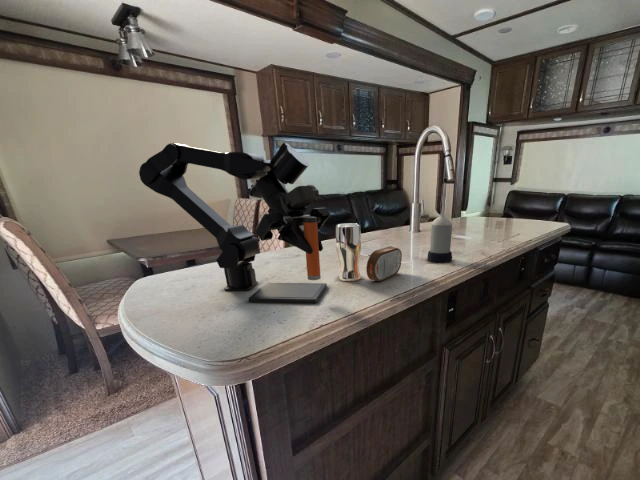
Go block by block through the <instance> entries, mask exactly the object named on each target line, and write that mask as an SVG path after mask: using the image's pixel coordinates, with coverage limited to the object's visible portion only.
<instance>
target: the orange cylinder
mask: <svg viewBox="0 0 640 480" xmlns="http://www.w3.org/2000/svg"><path fill="white" fill-rule="evenodd" d="M303 219H304V222H303V225H304V237H305V238H306V240H307V241H308V243H309V244H310V246H311V248H312V250H313V252H312V254H309V253H307V252H305V261H306V262H305V263H306V274H307V275H306V276H307V280H308V281H319V280H321V276H322V275H321V263H320V261H321V260H320V251H319V244H318V232H319V230H318V228H317V220H316V217H304V218H303Z"/></svg>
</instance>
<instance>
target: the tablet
mask: <svg viewBox="0 0 640 480" xmlns="http://www.w3.org/2000/svg"><path fill="white" fill-rule="evenodd" d="M327 286H328V284H327V283H325V282H324V283H323V282H319V283H318V282H267V283H265V284H264V285H263V286H261V287H260V288H259V289H258V290H257V291H256V292H254V293H253V294H252V295H250V296H249V297H248V303H271V304H272V303H274V304H275V303H276V304H279V303H280V304H281V303H282V304H317V302H318V301H319V299H320V298H321V296H322V295H323V294H324V292H325V290H326V289H327V288H328V287H327Z"/></svg>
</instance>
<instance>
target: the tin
mask: <svg viewBox="0 0 640 480" xmlns="http://www.w3.org/2000/svg"><path fill="white" fill-rule="evenodd" d="M402 257H403V253H402V250H401V249H400V248H399V247H395V246H392V245H390V246H386V247H382V248H379V249H376V250H374V251H373V252H372V253H371V254H370V255H369V257H368V259H367V261H366V267H365V269H366V270H365V271H366V276H367V278H368V279H369V280H370V281H376V282H382V281H384V280H387V279H389V278H391V277H393V276H395V275H397V274H398V272H399V271H400V269H401V266H402V260H403V259H402Z"/></svg>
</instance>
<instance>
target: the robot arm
mask: <svg viewBox="0 0 640 480" xmlns="http://www.w3.org/2000/svg"><path fill="white" fill-rule="evenodd" d="M189 164H190V165H195V166H201V167H205V168H210V169H215V170H220V171H223V172H224V173H227V174H228V175H230V176H233V177H235V178H238V179H240V180H243V181H245V180H246V181H248V180H249V181H252V180H253V181H254V180H255V181H256V180H257V181H256V182H255V184H251V185H250V190H249V196H250V197H252V198H256V199H262V200H263V201H264V203H265V204H266V205H267V207H268V210H267V213H263V215H262V217H261V219H260V220H259V223H257V226H256V228H255V233H256V234H254V233H252V232H251V231H249V230H248V228H247V227H245V225H243V224H240V225H235V226H234V225H231V224H230V223H229V222H228V221H227V220H226V219H225V218H223V217H222V216H221V215H219V213H218V212H216V211H215V210H214V209H213V208H212V207H211V206H210V205H209V204H208V203H207V202H206V201H204V200H203V199H202V198H201V197H200V196H199V195H197V193H195V192H194V191H193V190H192V189H191V188H190V187H189V186H188V185H187V182H186V179H185V176H184V175H185V174H186V173H187V169H188V165H189ZM309 166H310V164H309V162H308V160H307V159H306V158H305V156H304V155H303V154H302V153H299V152H298V150H296V149H295V148H293V147H292V146H291V145H290V144H289V143H287V142H286V143H285V142H283V143H282V144H281V145H280V146H279V148H278V150H277V152H276V153H275V154H274V155H273V157H272V158H271V159H265V158H264V156H263V155H262V154H260V153H254V152H248V151H247V152H246V151H227V152H221V151H216V150H211V149H205V148H199V147H195V146H189V145H187V144H184V143H176V142H170V143H168V144H166V145H165V146H164V147H163V149H162V150H160V151H158V152H157V153H155V154H153V155H152V156H150V157H148V158H147V160H146V161H145V162H143V163H142V164H141V165H140V166H139V171H138V175H139V179H140V181H141V182H142V184H143V185H144V186H145V187H147V188H149V190H151V191H153V192H155V193H157V194H159V195H161V196H164V197H166V198H169V199H170V200H172V201H173V202H175V204H177V205H178V206H179V207H180V208H181V209H182V210H184V211H185V212H186V213H187V214H188V215H189V216H190V217H192V218H193V219H194V220H195V221H196V222H197V223H198V224H199V225H201V226H202V227H203V228H204V229H205V230H206V231H207V232H209V234H210V235H212V236H213V237H214V238H215V240H216V242H217V244H218V248H219V249H220V250H221V253H220V254H219V255H218V257H217V259H216V263H217V265H218V267H219V268H220V269H223V272H224V277H225V282H226V286H225V287H223V289H224V291H249V290H251V289H252V288H253V287H255V286H256V285H257V284H258V281H257V277H256V270H255V268H253V263H252V262H254V261H255V259H256V255H257V254H258V252H259V241H258V240H257V239H256V237H255V236H257V237H258V238H259V240H260V241H261V242H264V241H269V240H272V239H273V236H274V233H273V232H272V231H276V230H277V232H278V234H279V235H278V237H277V240H278V241H282V242H285V243H287V244H289V245H291V246H293V247H295V248H297V249H300V250H301V251H302V252H305V253H306V252H307V253H309V254H312V252H313V250H312V248H311V246H310V244H309V243H308V241H307V240H306V238H305V237H304V225H303V222H304V219H303V218H304V217H316V220H317V228H318V244H319V252H322V251H323V250H324V246H323V243H322V240H321V235H320V233H319V230H321V229H322V227H323V226H324V225H325V224H326V222H327V221H328V219H329V218H330V216H331V212H330V211H329V209H328V208H327V207H315V208H311V210H310V212H309V213H308V214H305V213H306V212H307V211H308V210H309V208H308V206H309V205H310V204H312V203H313V202H317V201H318V198H320V193H319V192H320V191H319V190H318V188H316V186H315V185H313V184H307V185H298V186H296V187H294V188H293V189H291V190H290V191H289V190H288V189H287V188H286V187H285V185H288V184H289V185H294V184H295V183H296V182H297V181H298V179H299V178H300V177H301V175H302V174H303V173H304V172H305V171H306V170H307V169H308V167H309Z"/></svg>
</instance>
